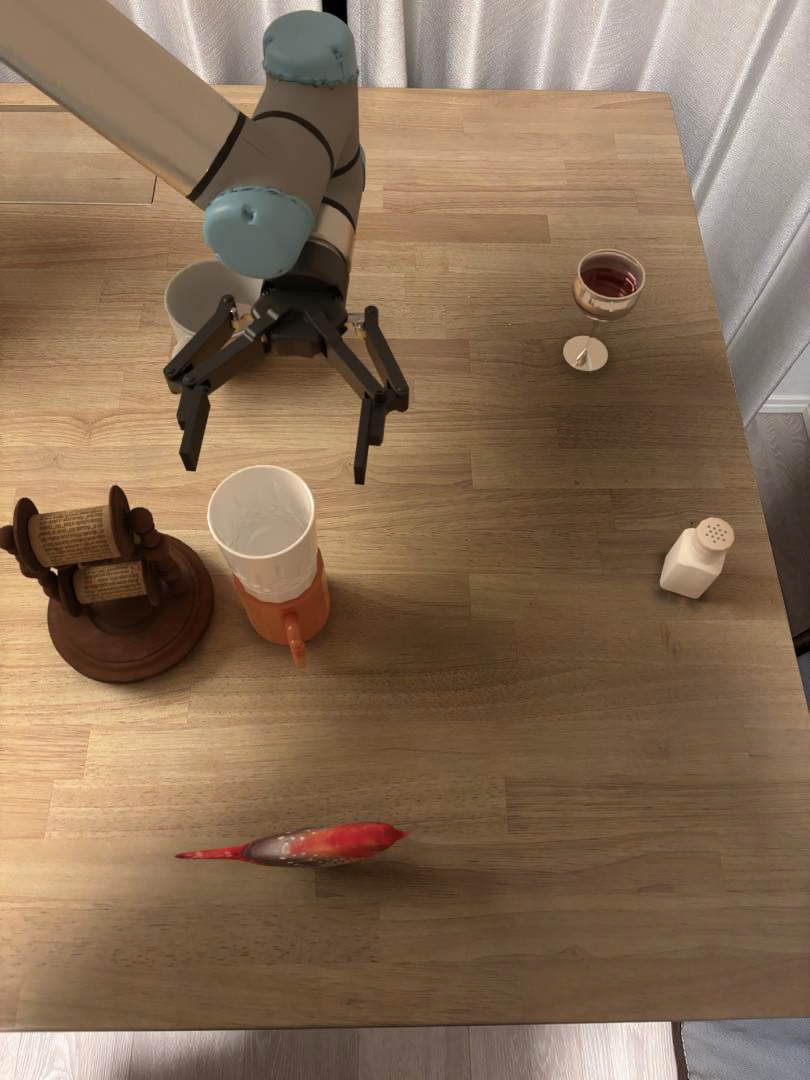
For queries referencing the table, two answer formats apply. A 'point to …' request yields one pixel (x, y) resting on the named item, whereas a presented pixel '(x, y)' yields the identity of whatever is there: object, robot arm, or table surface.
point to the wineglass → (602, 301)
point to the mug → (291, 615)
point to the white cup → (266, 531)
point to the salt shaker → (697, 558)
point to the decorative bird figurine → (311, 846)
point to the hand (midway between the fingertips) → (272, 469)
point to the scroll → (113, 588)
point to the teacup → (205, 297)
